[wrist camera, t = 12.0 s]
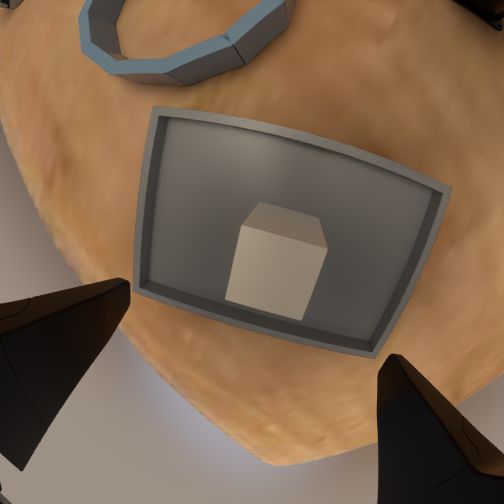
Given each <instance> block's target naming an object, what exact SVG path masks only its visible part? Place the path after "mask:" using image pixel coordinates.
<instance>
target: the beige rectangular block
mask: <svg viewBox="0 0 504 504" xmlns="http://www.w3.org/2000/svg"><path fill="white" fill-rule="evenodd" d="M327 250H328V248H327V244H326V240H325V237H324V233H323V230H322V227H321V223H320V220H319V218H318V217H314V216H311V215H308V214H304V213H301V212H297V211H293V210H290V209H286V208H283V207H279V206H275V205H272V204H268V203H264V202H259V203H258V204H257V206H256V207H255V208H254V209H253V211H252V212H251V213H250V215H249V216H248V217H247V218H246V220H245V221H244V222H243V224H242V225H241V229H240V233H239V238H238V242H237V247H236V251H235V256H234V260H233V265H232V269H231V274H230V279H229V283H228V288H227V292H226V297H225V300H228V301H231V302H235V303H238V304H242V305H245V306H249V307H252V308H256V309H259V310H263V311H267V312H270V313H274V314H278V315H281V316H285V317H289V318H293V319H297V320H300V321H301V320H302V318H303V315H304V313H305V310H306V307H307V305H308V302H309V300H310V297H311V295H312V292H313V289H314V287H315V284H316V281H317V278H318V276H319V273H320V270H321V267H322V265H323V262H324V259H325V256H326V253H327Z"/></svg>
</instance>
